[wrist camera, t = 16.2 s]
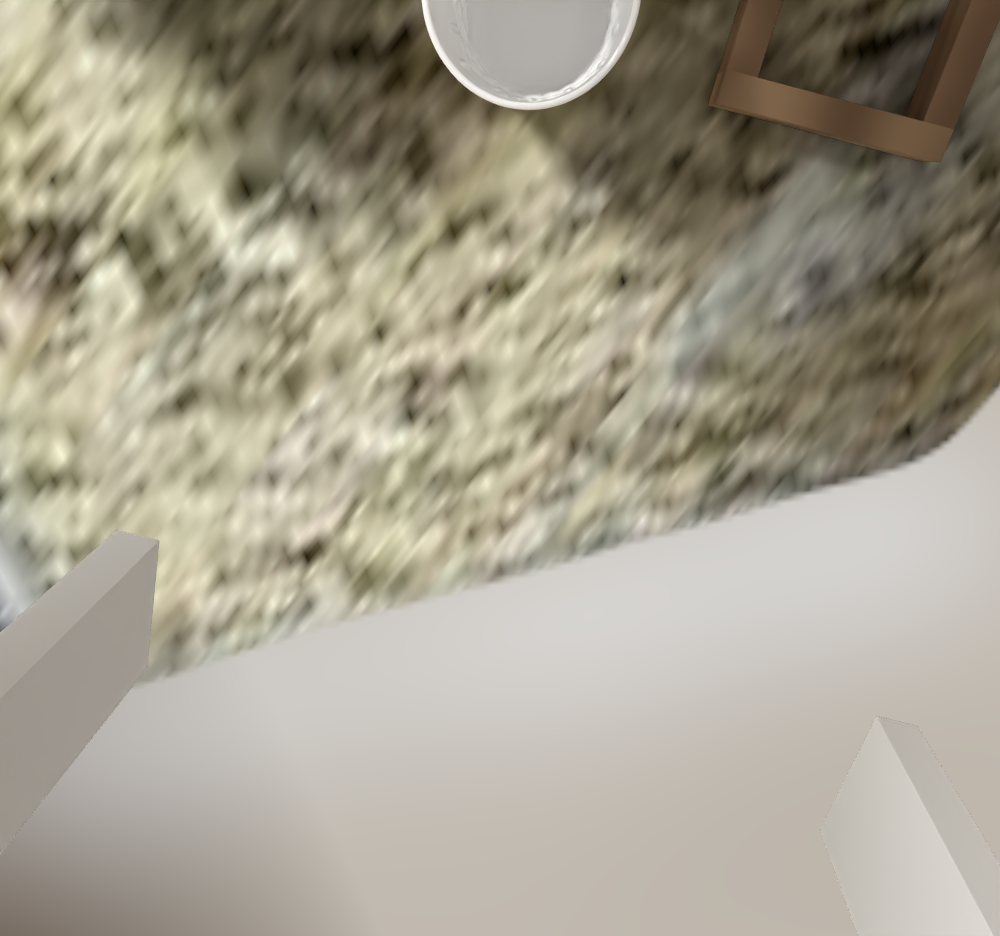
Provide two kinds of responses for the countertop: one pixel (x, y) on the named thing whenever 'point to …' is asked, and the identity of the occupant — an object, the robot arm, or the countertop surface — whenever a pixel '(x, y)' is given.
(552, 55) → the white cup
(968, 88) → the brown square wooden frame
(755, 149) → the countertop surface
